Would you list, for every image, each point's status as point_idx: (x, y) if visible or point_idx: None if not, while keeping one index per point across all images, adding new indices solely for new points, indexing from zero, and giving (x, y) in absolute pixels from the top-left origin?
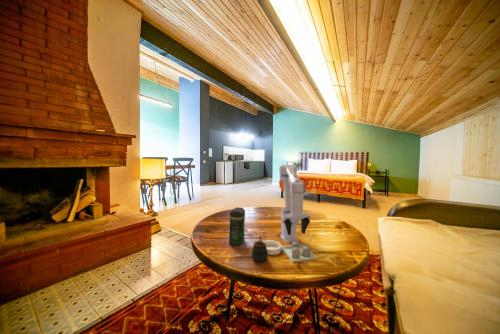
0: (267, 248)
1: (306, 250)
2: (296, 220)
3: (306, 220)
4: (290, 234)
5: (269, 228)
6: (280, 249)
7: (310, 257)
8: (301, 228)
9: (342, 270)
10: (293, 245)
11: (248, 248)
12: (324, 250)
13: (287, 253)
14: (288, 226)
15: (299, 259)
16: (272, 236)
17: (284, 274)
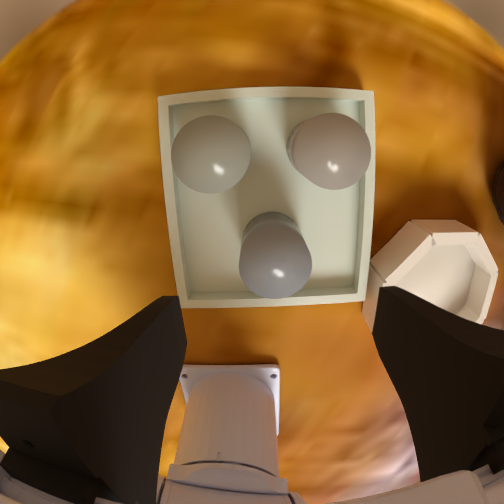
0: (484, 254)
1: (229, 120)
2: (173, 501)
3: (44, 429)
4: (385, 287)
5: (291, 482)
6: (394, 254)
7: (211, 93)
8: (176, 379)
9: (82, 2)
10: (305, 243)
11: (499, 316)
12: (56, 226)
13: (372, 187)
14: (499, 330)
15: (315, 87)
16: (321, 429)
17: (442, 25)
